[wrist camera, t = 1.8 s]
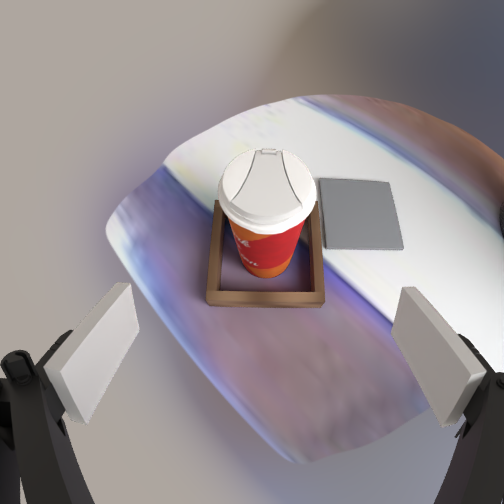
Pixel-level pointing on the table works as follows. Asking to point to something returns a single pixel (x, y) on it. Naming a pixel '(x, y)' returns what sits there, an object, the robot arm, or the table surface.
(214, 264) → the brown square open frame
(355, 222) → the mat
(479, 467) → the robot arm
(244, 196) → the paper cup
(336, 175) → the table surface
